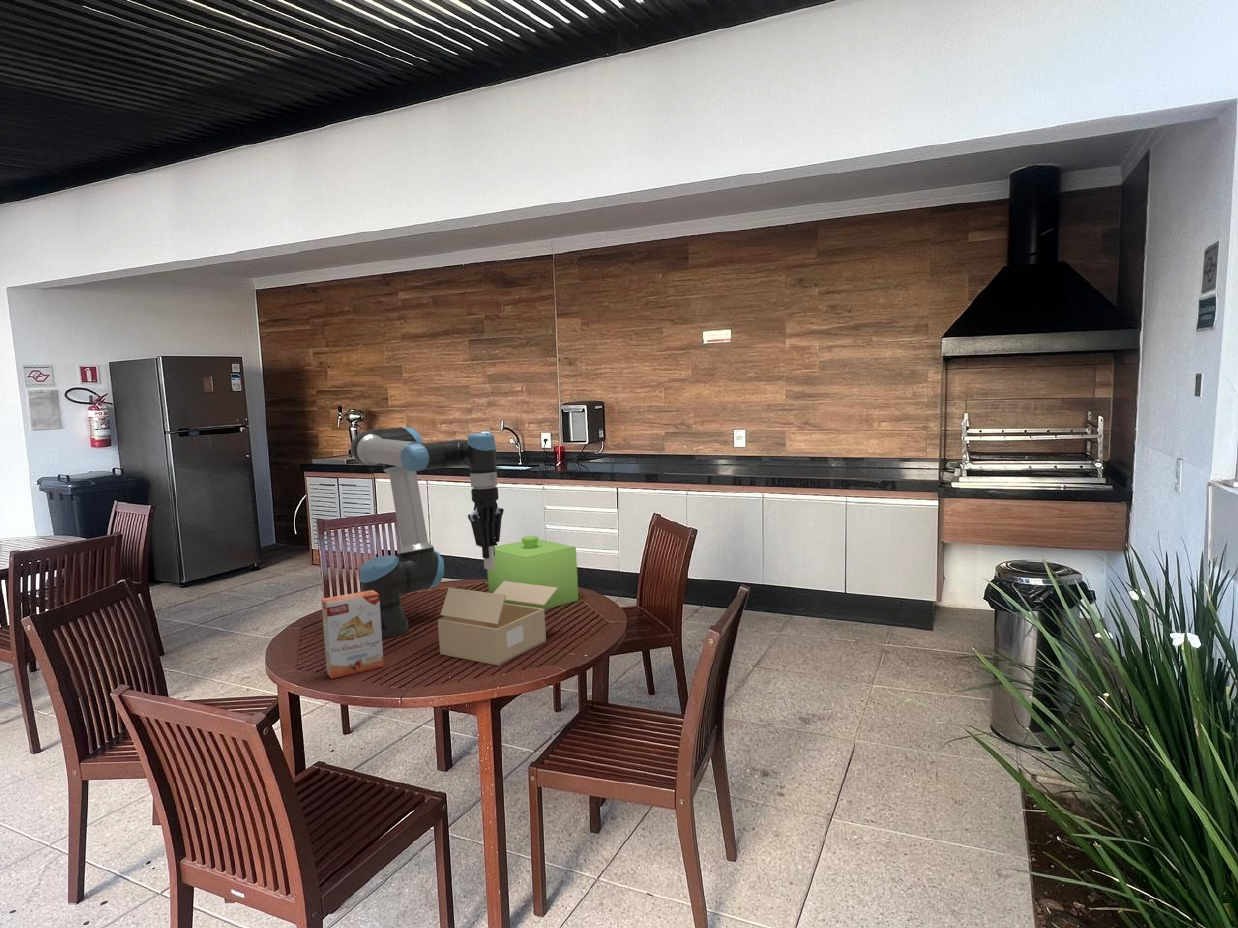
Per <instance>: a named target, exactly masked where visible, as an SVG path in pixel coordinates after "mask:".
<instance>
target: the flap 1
mask: <svg viewBox="0 0 1238 928" xmlns="http://www.w3.org/2000/svg"><path fill="white" fill-rule="evenodd" d="M445 595H446V596H445V598H444V602H443V604H442V608H441V611H440V615H441V616H444V617H447V616H450V617H456V618H462V619H469V620H475V621H481V622H487V623H493V624H498V623H499V619H500V616H501V612H502V608H503V605H504V601H505V598H506V595H502V594H494V593H489V592H488V591H487V592H485V591H478V590H470V589H463V588H458V587H457V588H454V587H448V589H447V592H446V594H445Z"/></svg>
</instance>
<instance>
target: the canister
mask: <svg viewBox="0 0 1238 928" xmlns="http://www.w3.org/2000/svg"><path fill="white" fill-rule="evenodd" d="M577 560H578V559H577V547H576V546H573V545H568V544H564V543H560V542H559V543H558V542H554V541H548V540H543V539H539V536H536V535H526V536H523V537H521V541H516V542H511V543H506V544H500V545H497V546H495V556H494V561H495V569H492V570H490V569H486V571H487V587H488V593H494V592H495V590H496V589H497V588H498V587H499V586H500V585H501V584H502V583H503V582H504V581H507V582H516V583H524V584H532V585H541V586H549V587H557V588H558V590H557V591H556V592H555V593H554V595H553V596H552V597H551V598H550V600H549V601H548V602H547V603H546V605H545V606H540V605H533V604H525V603H518V602H511V601H504V603H506V604H513V605H520V606H527V607H535V608H542V609H544V611H545V610H548V609H551V608H554V607H559V606H563V605H566V604H571V603H573V602H574V603H575V602H576V601H579V585H578V583H579V582H578V565H577V564H578V562H577Z"/></svg>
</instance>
